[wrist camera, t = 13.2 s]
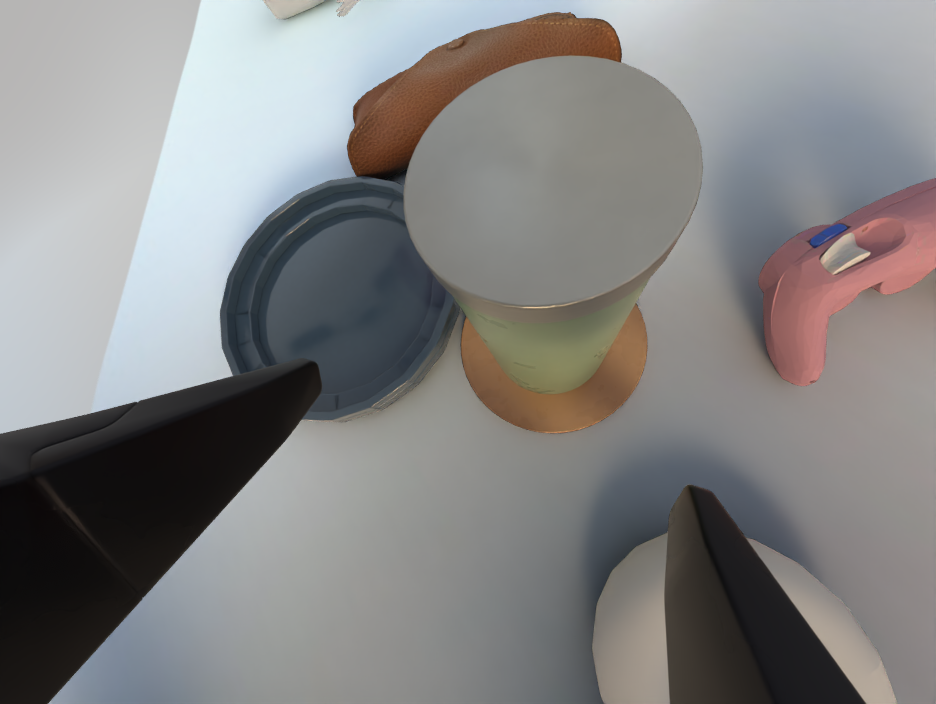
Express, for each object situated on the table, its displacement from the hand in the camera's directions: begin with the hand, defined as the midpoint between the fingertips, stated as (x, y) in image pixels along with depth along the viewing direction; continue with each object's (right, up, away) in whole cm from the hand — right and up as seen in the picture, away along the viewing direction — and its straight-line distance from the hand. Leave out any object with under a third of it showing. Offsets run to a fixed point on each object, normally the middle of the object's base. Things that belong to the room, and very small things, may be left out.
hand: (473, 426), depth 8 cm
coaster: (+4, +2, +12) cm, 13 cm away
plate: (-8, +5, +16) cm, 19 cm away
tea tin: (+4, +2, +11) cm, 12 cm away
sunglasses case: (0, +19, +18) cm, 26 cm away
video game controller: (+18, +4, +9) cm, 21 cm away
